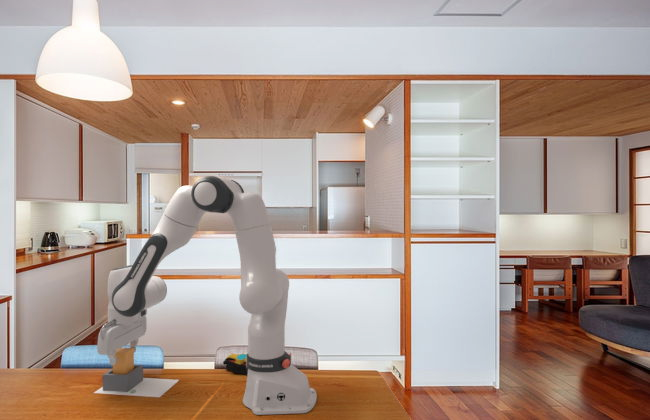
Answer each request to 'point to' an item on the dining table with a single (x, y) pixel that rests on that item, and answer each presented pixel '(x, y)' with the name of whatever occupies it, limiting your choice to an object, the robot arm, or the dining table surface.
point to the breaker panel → (134, 384)
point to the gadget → (236, 363)
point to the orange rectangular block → (124, 361)
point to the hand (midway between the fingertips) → (123, 358)
